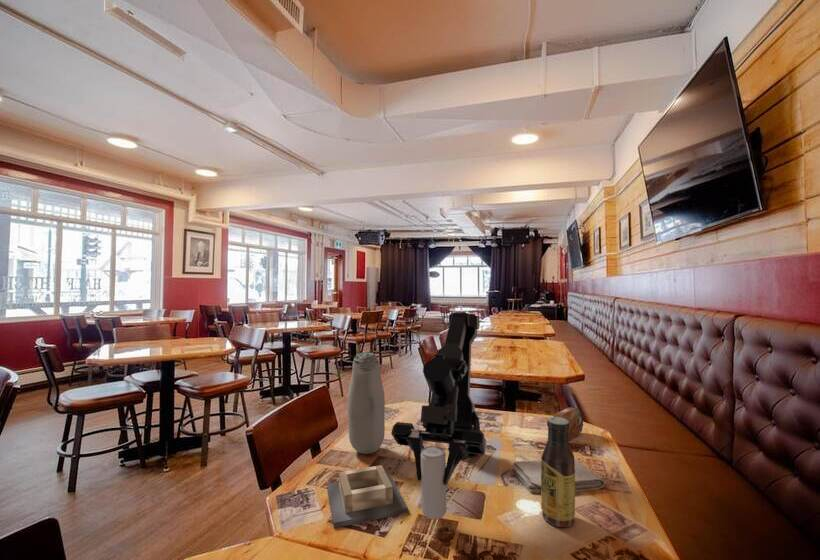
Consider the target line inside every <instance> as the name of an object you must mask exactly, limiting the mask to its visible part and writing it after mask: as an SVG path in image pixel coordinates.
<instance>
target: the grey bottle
mask: <svg viewBox="0 0 820 560" xmlns="http://www.w3.org/2000/svg"><path fill="white" fill-rule="evenodd" d="M385 398H386V397H385V389H384V385H383V381H382V377H381V369H380V361H379V358H378V357H377V355H376V354H375V353H373V352H370V351H364V352H363V351H362V352H360V353H358V354H357V355H355V356H354V358H353V361H352V369H351V378H350V383H349V386H348V392H347V416H348V418H347V422H348V424H347V425H348V439H349V443H350V444H351V447H352V448H353V449H354V450H355V451H356V452H357V453H360V454H364V455H371V454H374V453H375V452H377V451H379V449H380V448H381V446H382V444H383V442H384V440H385V434H386V433H385V430H386V427H385V423H386V420H385V415H386V414H385V412H386V410H385V408H386V407H385V404H386V403H385V402H386V401H385Z"/></svg>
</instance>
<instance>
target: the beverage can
mask: <svg viewBox="0 0 820 560" xmlns="http://www.w3.org/2000/svg"><path fill="white" fill-rule="evenodd" d="M446 458H447V457H446V450H445V449H444V448H443V447H441V446H438V445H436V446H435V445H430V446H429V445H428V446H424V448H423V449H422V450H421V481H420V485H421V488H420V489H421V496H420V497H421V498H420V499H421V511H422V514H423V516H425V517H426V518H427V519H430V520H439V519H442V518H443V517H444V516H445V515H446V513H447V485H444V474H445V469H446V465H447V462H446V460H447V459H446Z"/></svg>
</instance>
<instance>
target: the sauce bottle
mask: <svg viewBox="0 0 820 560" xmlns="http://www.w3.org/2000/svg"><path fill="white" fill-rule="evenodd" d="M546 421H547V422H546V427H547V441H546V444H545V447H544V449H543V452H542V455H541V459H540V460H541V494H540V496H541V497H540V499H541V500H540V501H541V502H540V503H541V504H540V505H541V512H542V517H543V519H544V520H545V521H546V522H547V523H549V524H550V525H551V526H553V527H556V528H557V527H559V528H568V527H571V526H573V525H574V523H575V516H576V491H575V469H574V466H575V465H574V464H575V463H574V462H575V454H574V453H573V450H572V449H571V447H570V446H569V442H570V441H569V440H568V430H569V421H568V420H566V419H564V418H561V417H553V416H551V417H548V418H547V419H546Z"/></svg>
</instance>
